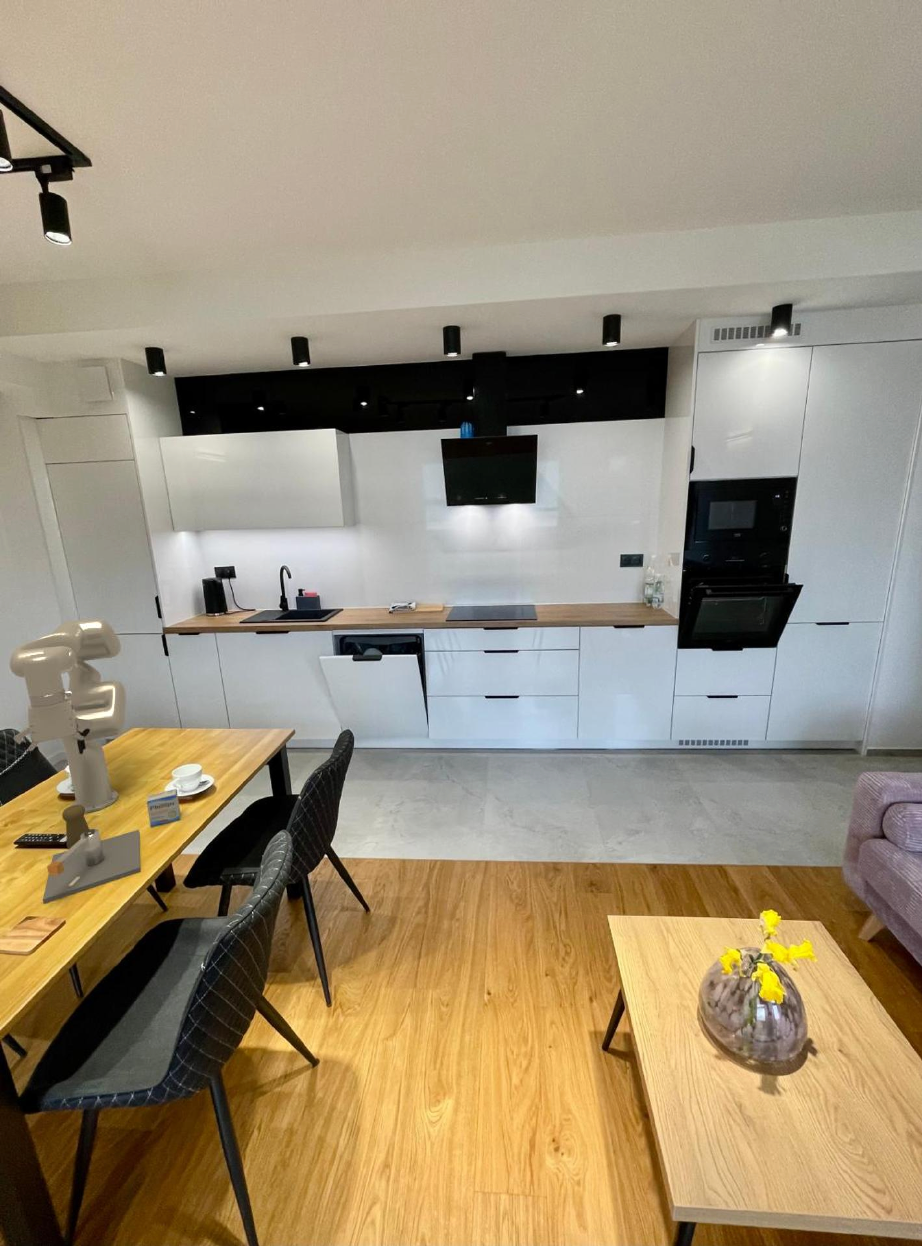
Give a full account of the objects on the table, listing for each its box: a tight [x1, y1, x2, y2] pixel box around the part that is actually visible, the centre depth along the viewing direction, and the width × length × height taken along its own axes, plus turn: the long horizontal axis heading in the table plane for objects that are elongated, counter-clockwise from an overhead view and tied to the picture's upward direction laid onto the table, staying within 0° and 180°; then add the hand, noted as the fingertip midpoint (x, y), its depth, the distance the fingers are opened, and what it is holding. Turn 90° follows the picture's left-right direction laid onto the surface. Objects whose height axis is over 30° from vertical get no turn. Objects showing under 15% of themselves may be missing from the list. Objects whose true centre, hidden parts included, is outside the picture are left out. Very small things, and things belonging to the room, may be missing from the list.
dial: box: [47, 828, 104, 876], centre depth 131 cm, size 15×4×8 cm, turn 1°
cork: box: [61, 805, 90, 849], centre depth 146 cm, size 6×6×11 cm
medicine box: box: [146, 788, 181, 828], centre depth 156 cm, size 8×4×9 cm, turn 117°
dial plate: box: [42, 829, 141, 905], centre depth 137 cm, size 20×20×2 cm
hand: (60, 757), depth 142 cm, fingers open, 9 cm apart
